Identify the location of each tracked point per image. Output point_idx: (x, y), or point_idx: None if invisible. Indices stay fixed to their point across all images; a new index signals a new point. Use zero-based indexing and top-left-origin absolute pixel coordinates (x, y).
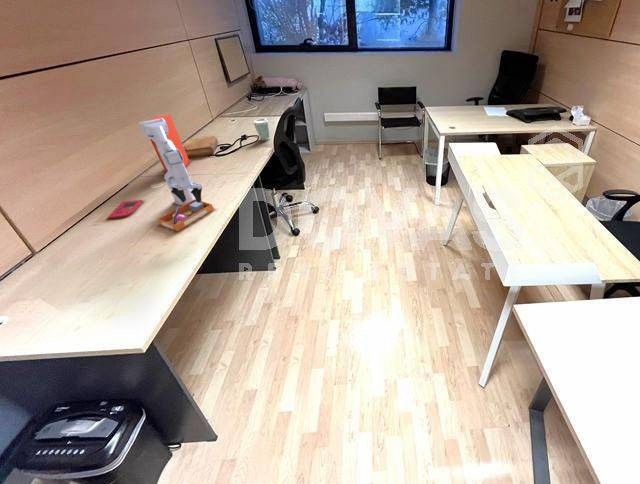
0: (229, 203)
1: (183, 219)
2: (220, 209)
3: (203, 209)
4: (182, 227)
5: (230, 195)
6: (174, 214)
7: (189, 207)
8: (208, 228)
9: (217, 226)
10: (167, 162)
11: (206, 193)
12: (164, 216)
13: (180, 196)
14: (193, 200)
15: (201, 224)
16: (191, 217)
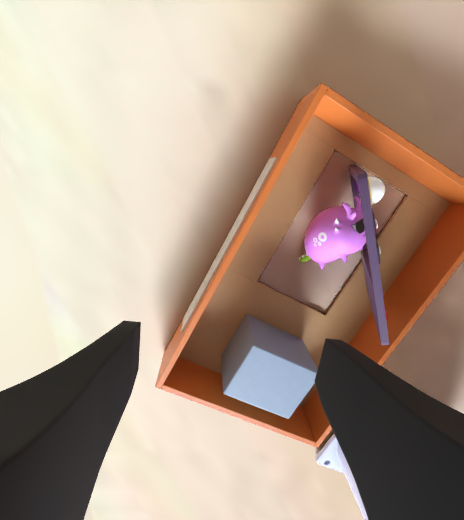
0: None
1: (308, 226)
2: None
3: (188, 324)
4: (281, 137)
5: (142, 491)
6: (372, 195)
7: None
8: (75, 118)
9: (15, 141)
10: None
11: (297, 507)
12: (458, 248)
13: (377, 401)
14: (320, 434)
15: (163, 182)
16: (241, 225)
